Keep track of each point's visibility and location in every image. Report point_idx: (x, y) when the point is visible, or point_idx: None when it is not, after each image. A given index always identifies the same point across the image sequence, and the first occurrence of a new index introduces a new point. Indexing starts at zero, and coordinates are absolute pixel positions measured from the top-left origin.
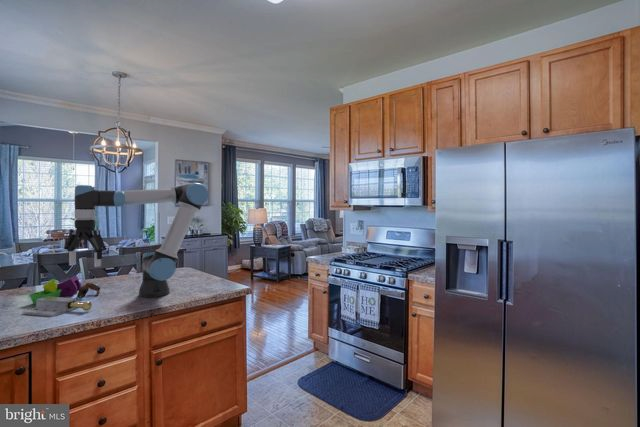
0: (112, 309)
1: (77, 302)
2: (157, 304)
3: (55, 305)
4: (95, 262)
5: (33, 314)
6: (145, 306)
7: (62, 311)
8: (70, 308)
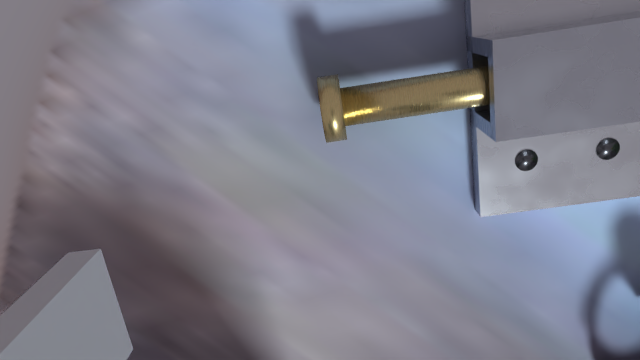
0: (216, 193)
1: (552, 190)
2: None
3: (581, 22)
4: (24, 304)
5: None
6: None
7: (469, 9)
8: None
